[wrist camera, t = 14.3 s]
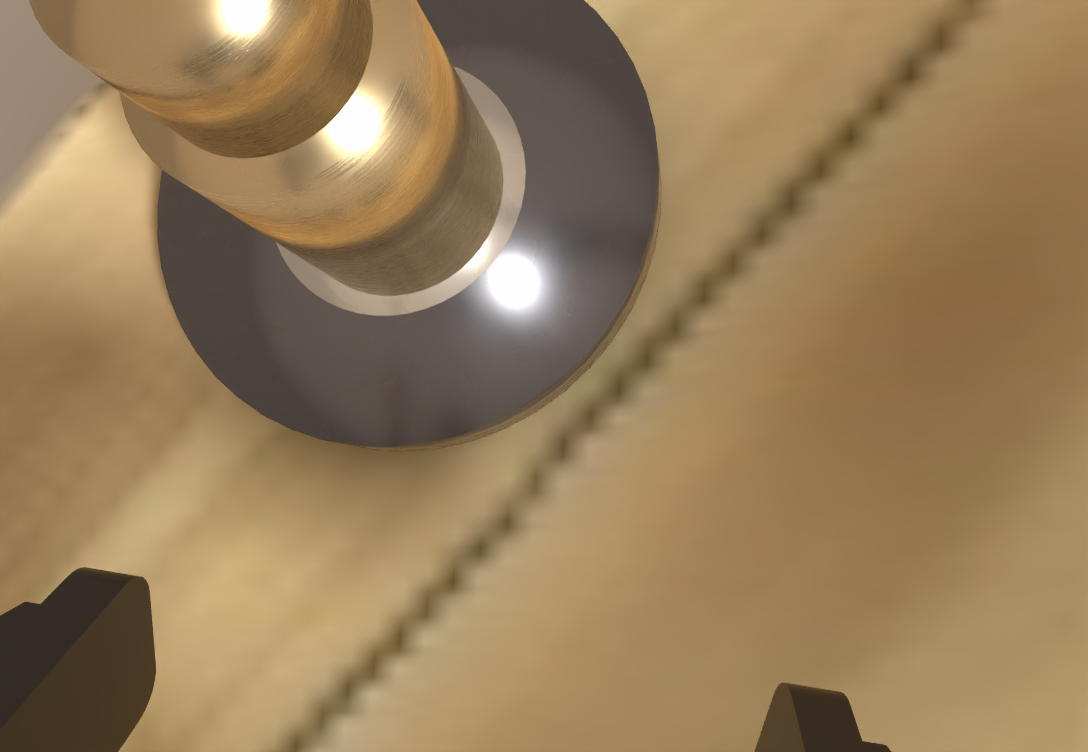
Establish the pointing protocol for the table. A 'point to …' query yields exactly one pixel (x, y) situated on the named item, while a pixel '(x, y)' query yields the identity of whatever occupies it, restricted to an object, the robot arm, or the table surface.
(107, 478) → the table surface
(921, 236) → the table surface
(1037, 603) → the table surface
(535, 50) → the turntable
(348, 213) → the weight
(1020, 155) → the table surface
